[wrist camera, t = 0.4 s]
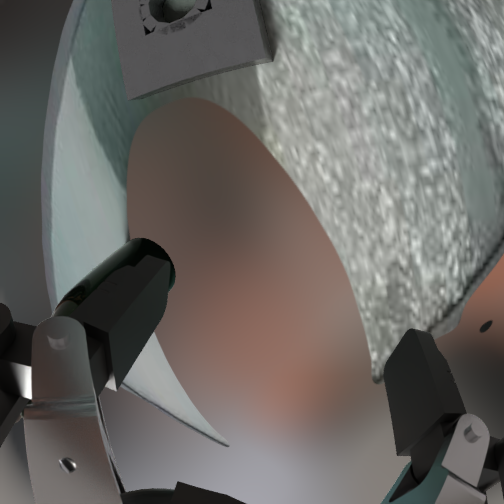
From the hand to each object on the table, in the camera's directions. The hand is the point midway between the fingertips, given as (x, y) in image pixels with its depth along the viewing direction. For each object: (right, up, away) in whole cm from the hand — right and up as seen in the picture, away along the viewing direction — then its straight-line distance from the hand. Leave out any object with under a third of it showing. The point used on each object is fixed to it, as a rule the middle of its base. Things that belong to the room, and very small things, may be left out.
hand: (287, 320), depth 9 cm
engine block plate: (-9, +32, +18) cm, 38 cm away
